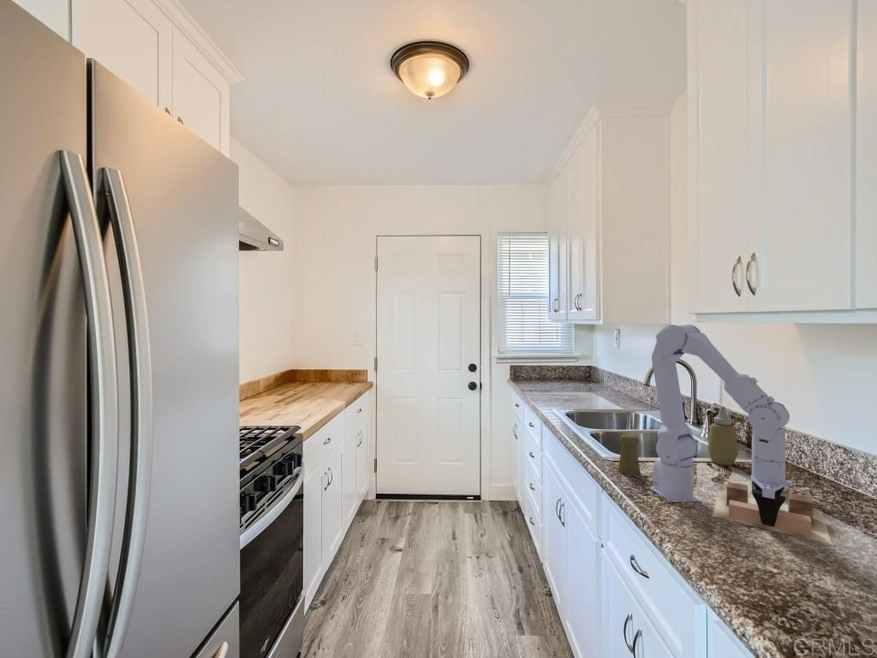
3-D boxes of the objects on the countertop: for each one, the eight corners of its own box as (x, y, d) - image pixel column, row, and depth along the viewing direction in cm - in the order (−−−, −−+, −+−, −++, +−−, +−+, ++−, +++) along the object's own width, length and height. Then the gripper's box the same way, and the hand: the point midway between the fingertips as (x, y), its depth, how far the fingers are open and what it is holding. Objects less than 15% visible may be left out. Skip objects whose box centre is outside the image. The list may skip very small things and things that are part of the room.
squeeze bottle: (701, 459, 138) (701, 404, 137) (722, 458, 139) (723, 403, 139) (722, 468, 130) (722, 409, 130) (744, 466, 131) (745, 408, 131)
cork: (615, 467, 130) (615, 432, 130) (635, 468, 130) (635, 432, 130) (622, 474, 124) (622, 437, 124) (643, 475, 124) (643, 437, 124)
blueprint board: (712, 518, 96) (712, 496, 96) (718, 493, 110) (719, 474, 110) (831, 546, 84) (832, 521, 84) (821, 514, 98) (822, 492, 98)
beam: (728, 517, 95) (728, 504, 95) (729, 512, 98) (729, 499, 98) (811, 536, 87) (811, 521, 87) (809, 530, 89) (809, 516, 89)
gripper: (794, 471, 84) (793, 539, 84) (790, 453, 95) (790, 513, 96) (750, 464, 88) (749, 528, 88) (751, 448, 100) (751, 505, 100)
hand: (767, 520), depth 92 cm, fingers open, 5 cm apart
